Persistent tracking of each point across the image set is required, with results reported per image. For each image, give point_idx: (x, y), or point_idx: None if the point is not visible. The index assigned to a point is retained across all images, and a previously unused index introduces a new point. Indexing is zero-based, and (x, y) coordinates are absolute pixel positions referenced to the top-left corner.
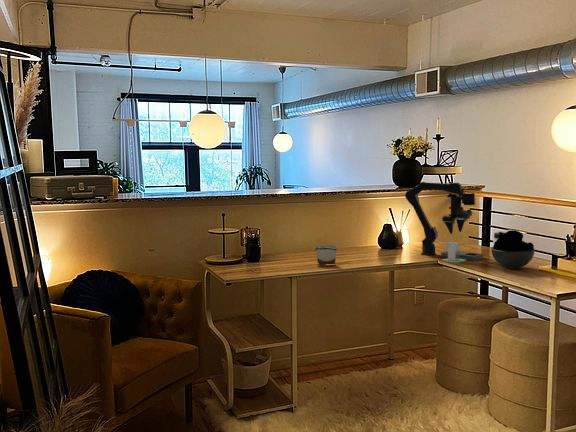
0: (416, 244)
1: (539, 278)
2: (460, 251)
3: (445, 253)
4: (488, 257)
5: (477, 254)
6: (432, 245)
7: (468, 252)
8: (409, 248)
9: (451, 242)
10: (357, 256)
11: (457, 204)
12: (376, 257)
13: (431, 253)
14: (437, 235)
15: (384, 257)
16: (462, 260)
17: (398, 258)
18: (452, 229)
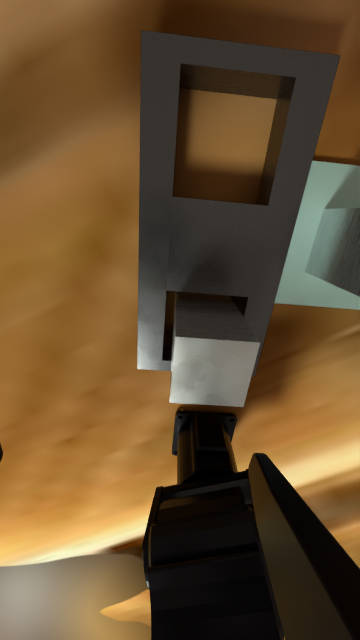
0: (15, 541)
1: None
2: (145, 293)
3: (262, 345)
4: (71, 31)
5: (177, 99)
6: (221, 462)
7: (152, 217)
8: (113, 526)
9: (214, 378)
10: (354, 560)
11: None
12: (356, 525)
13: (222, 421)
14: (174, 534)
15: (348, 510)
16: (350, 174)
17: (355, 474)
18: (312, 531)
